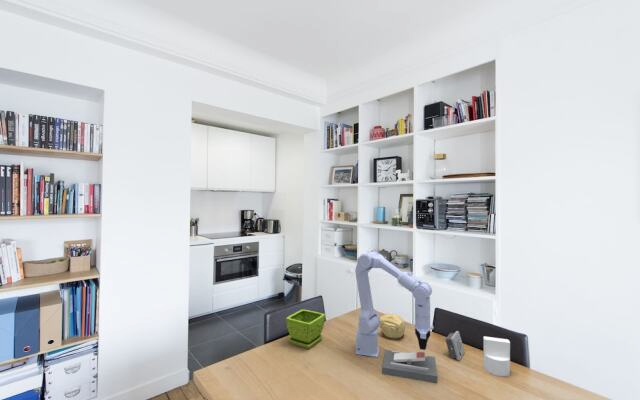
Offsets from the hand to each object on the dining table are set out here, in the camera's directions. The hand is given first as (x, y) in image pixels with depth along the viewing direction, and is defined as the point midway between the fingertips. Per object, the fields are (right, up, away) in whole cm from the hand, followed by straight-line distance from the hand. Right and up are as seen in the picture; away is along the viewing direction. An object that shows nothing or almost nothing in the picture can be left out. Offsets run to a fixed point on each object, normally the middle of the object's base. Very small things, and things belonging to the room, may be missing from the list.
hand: (422, 348), depth 117 cm
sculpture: (-4, -9, +30) cm, 31 cm away
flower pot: (-47, -9, +23) cm, 53 cm away
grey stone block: (+18, -9, +11) cm, 23 cm away
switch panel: (-5, -9, +2) cm, 10 cm away
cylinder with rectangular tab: (+29, -9, 0) cm, 31 cm away
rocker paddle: (-5, -4, +1) cm, 6 cm away
